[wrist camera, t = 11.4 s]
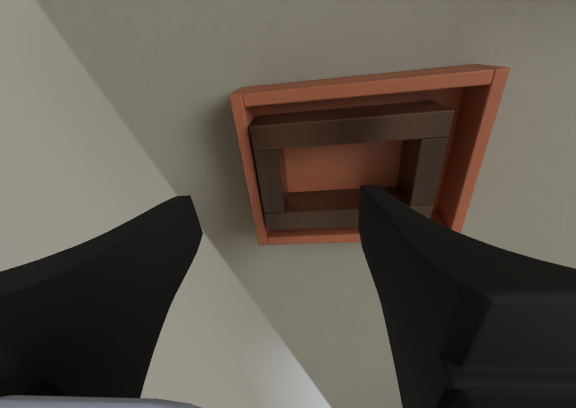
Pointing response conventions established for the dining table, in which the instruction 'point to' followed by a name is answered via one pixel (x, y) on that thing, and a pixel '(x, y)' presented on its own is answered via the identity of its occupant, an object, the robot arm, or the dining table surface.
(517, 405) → the robot arm
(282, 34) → the dining table surface
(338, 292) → the dining table surface
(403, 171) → the frame
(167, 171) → the dining table surface
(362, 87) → the holder
